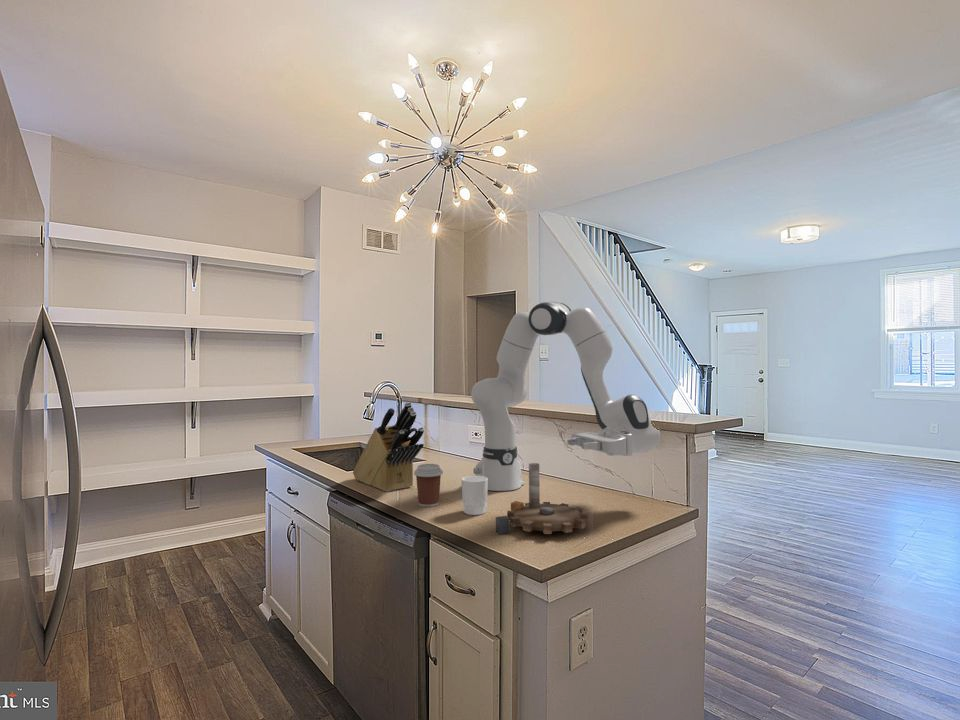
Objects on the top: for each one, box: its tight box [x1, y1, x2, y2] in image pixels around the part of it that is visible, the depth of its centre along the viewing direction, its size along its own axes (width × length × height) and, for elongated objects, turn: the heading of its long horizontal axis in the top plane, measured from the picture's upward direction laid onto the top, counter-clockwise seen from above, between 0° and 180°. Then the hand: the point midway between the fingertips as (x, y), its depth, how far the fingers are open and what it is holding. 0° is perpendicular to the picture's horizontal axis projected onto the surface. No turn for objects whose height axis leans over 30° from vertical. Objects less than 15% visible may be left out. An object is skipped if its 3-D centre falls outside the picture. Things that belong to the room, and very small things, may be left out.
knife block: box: [352, 401, 425, 493], centre depth 184 cm, size 11×35×31 cm, turn 39°
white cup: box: [461, 475, 488, 516], centre depth 152 cm, size 8×8×10 cm
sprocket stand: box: [495, 515, 510, 535], centre depth 136 cm, size 8×19×4 cm, turn 113°
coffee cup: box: [413, 463, 444, 507], centre depth 161 cm, size 9×9×12 cm
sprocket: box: [506, 462, 589, 535], centre depth 138 cm, size 22×22×14 cm
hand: (575, 444), depth 150 cm, fingers open, 6 cm apart
